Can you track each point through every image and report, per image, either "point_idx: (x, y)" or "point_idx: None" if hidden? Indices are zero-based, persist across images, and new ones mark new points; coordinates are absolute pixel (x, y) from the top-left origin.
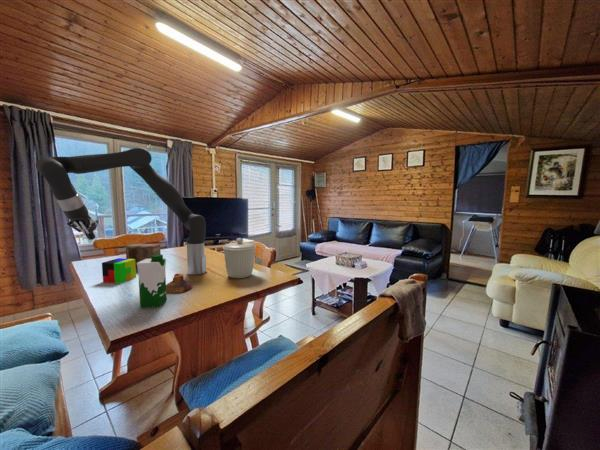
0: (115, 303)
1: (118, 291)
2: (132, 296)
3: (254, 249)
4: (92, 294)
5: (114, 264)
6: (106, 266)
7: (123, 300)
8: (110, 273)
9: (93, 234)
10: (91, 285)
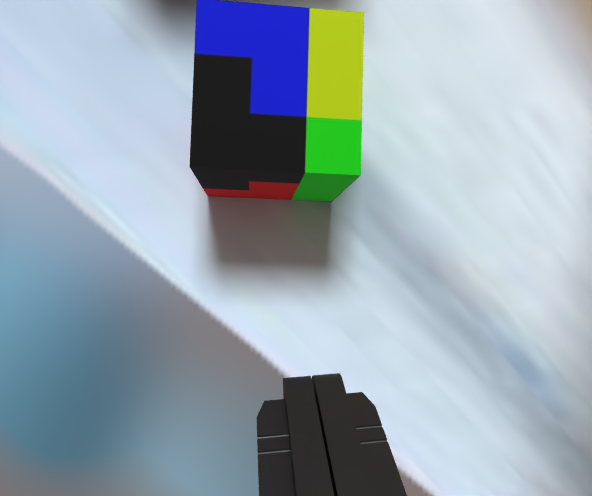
0: (534, 474)
1: (422, 326)
2: (545, 379)
3: None
4: None
5: (310, 174)
6: (234, 174)
7: (542, 434)
8: (265, 186)
9: (387, 458)
10: (190, 260)
